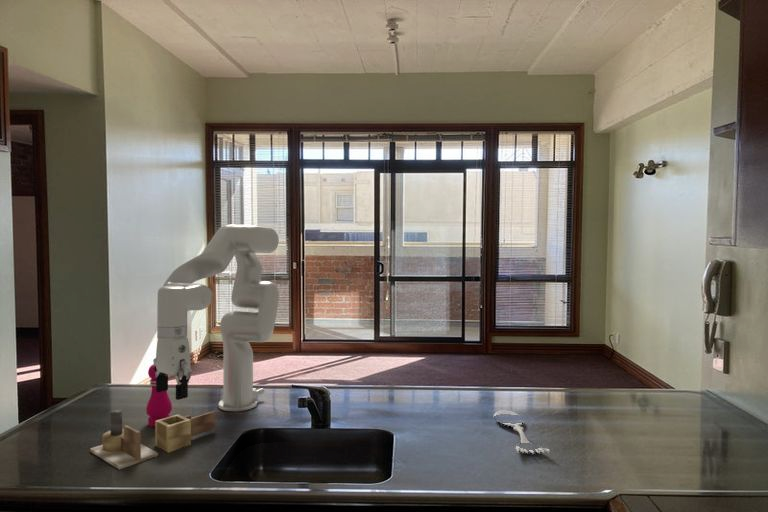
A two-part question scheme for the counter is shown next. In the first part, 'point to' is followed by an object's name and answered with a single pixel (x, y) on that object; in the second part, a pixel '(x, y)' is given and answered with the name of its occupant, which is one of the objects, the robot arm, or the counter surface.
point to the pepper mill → (157, 401)
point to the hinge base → (122, 444)
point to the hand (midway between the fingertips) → (171, 394)
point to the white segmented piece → (522, 435)
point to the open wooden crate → (181, 430)
